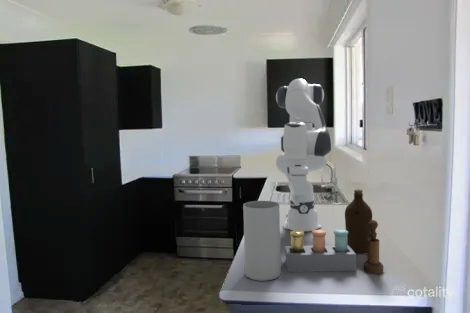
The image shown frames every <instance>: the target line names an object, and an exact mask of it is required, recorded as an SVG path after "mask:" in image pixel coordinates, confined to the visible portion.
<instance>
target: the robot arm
mask: <svg viewBox="0 0 470 313" xmlns="http://www.w3.org/2000/svg"><path fill="white" fill-rule="evenodd" d="M324 99H325V92H324V89H323V86H322V85H321V84H316V83H313V84H311V83H308V82H307V81H306V80H305V79H303V78H295V79H292V81H291V82H289V84H288V85H287V86H286V85H283V86H280V87H279V88H278V89H277V92H276V94H275V100H276V104H277V105H278V107H279V108H281V109H285V110H286V112H287V113H288V114H289V122H287V123H285V124H284V127H283V128H284V129H283V135H282V136H281V137H280V144H281V145H280V146H281V147H280V148H281V149H280V150H281V151H282V152H281V153H279V154H278V156H277V157H276V159H275V160H276V161H275V165H276V168H277V170H278V171H279V172H280V173H281V174H282V175H284V177H286V179H287V182H288V183H287V184H288V185H287V186H288V188H289V190H290V200H289V207H290V208H289V210H288V211H287V212H286V213H285V218H286V219H285V222H284V225H283V229H284V230H285V229H286V230H290V231H294V230H299V231H303V232H312V231H313V230H319V229H321V228H322V225H321V224H319V220H318V219H319V218H318V216H319V215H318V211H317V210H316V209H315V200H314V186H313V184H312V183H311V182H310V181H309V180H308V179H307V175H309V173H316V172H320V171H323V170H324V169H325V167H326V166H327V161H328V160H327V156H328V154H329V153H330V152H331V151H332V147H333V145H332V144H333V142H332V137H331V135H330V132H329V130H328V128H327V124H326V121H325V118H324V115H323V112H322V109H321V107H320V106H321V105H322V104H323V102H324ZM313 126H314V128H315V130H314V129H313Z"/></svg>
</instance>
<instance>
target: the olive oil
mask: <svg viewBox="0 0 470 313" xmlns="http://www.w3.org/2000/svg"><path fill="white" fill-rule="evenodd" d="M353 191H354V193H353V199H352V200H351V202H350V203H349V204H348V205H347V206H346V208H345V211H344V220H345V223H344V225H345V230H346V231H348V235H347V245H349V246H350V248H351V249H352V250H353V251H354V252H355V254H356V255H365V254H366V255H367V251H368V245H367V239H369V238H371V236H370V233H371V229H370V227H369V222H370V221H371V220H373V211H372V209H371V207H370V206H369V205H368V203H367V202H366V201H365V200H364V198H363V196H364V194H363V190H362V189H354V190H353Z"/></svg>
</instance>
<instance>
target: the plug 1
mask: <svg viewBox="0 0 470 313" xmlns="http://www.w3.org/2000/svg"><path fill="white" fill-rule="evenodd" d="M289 235H290V246H291V253H303V246H304V235H305V231H299V230H290V231H289Z"/></svg>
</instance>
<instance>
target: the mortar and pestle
mask: <svg viewBox="0 0 470 313" xmlns="http://www.w3.org/2000/svg"><path fill="white" fill-rule="evenodd" d="M378 226H379V223H378V222H377V220H376V219H374V220H373V219H372V220H371V221H370V222H369V227H370V229H371V233H370V236H371V238H369V239H367V245H368V251H367V254H366V255H367V258H366V259H367V260H365V261H364V262H363V268H362V270H363V271H364V272H366V273H369V274H372V275H373V274H374V275H380V274H383V273H384V264H383V263H382V262H381V261H380V239H378V238H377V235H378V233H377V231H376V229H378Z"/></svg>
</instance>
